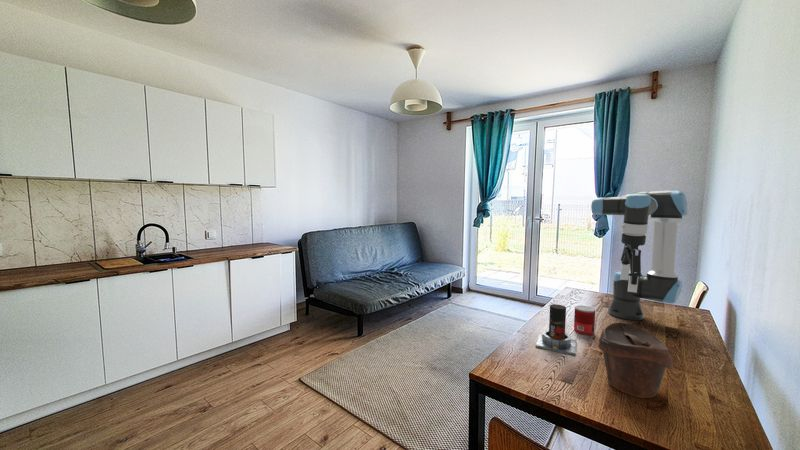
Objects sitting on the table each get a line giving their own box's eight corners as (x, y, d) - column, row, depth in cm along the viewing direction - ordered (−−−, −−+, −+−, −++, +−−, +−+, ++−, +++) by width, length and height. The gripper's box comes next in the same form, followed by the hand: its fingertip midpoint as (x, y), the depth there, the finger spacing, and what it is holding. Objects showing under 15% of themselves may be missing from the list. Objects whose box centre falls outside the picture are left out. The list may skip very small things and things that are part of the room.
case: (651, 413, 86) (655, 350, 85) (583, 377, 104) (585, 324, 103) (686, 398, 93) (690, 340, 92) (617, 367, 111) (619, 318, 110)
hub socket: (539, 334, 138) (540, 326, 137) (575, 341, 131) (576, 332, 130) (535, 347, 126) (536, 337, 125) (575, 355, 119) (575, 345, 118)
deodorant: (546, 342, 128) (547, 306, 127) (551, 337, 132) (552, 303, 131) (562, 346, 124) (563, 310, 123) (566, 342, 128) (567, 306, 127)
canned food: (597, 336, 137) (598, 311, 136) (577, 334, 138) (578, 310, 138) (590, 329, 144) (591, 306, 143) (571, 327, 146) (572, 304, 145)
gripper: (616, 227, 133) (611, 274, 137) (629, 240, 111) (623, 295, 115) (637, 228, 130) (631, 276, 134) (656, 242, 108) (648, 299, 112)
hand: (627, 285), depth 124 cm, fingers open, 13 cm apart
